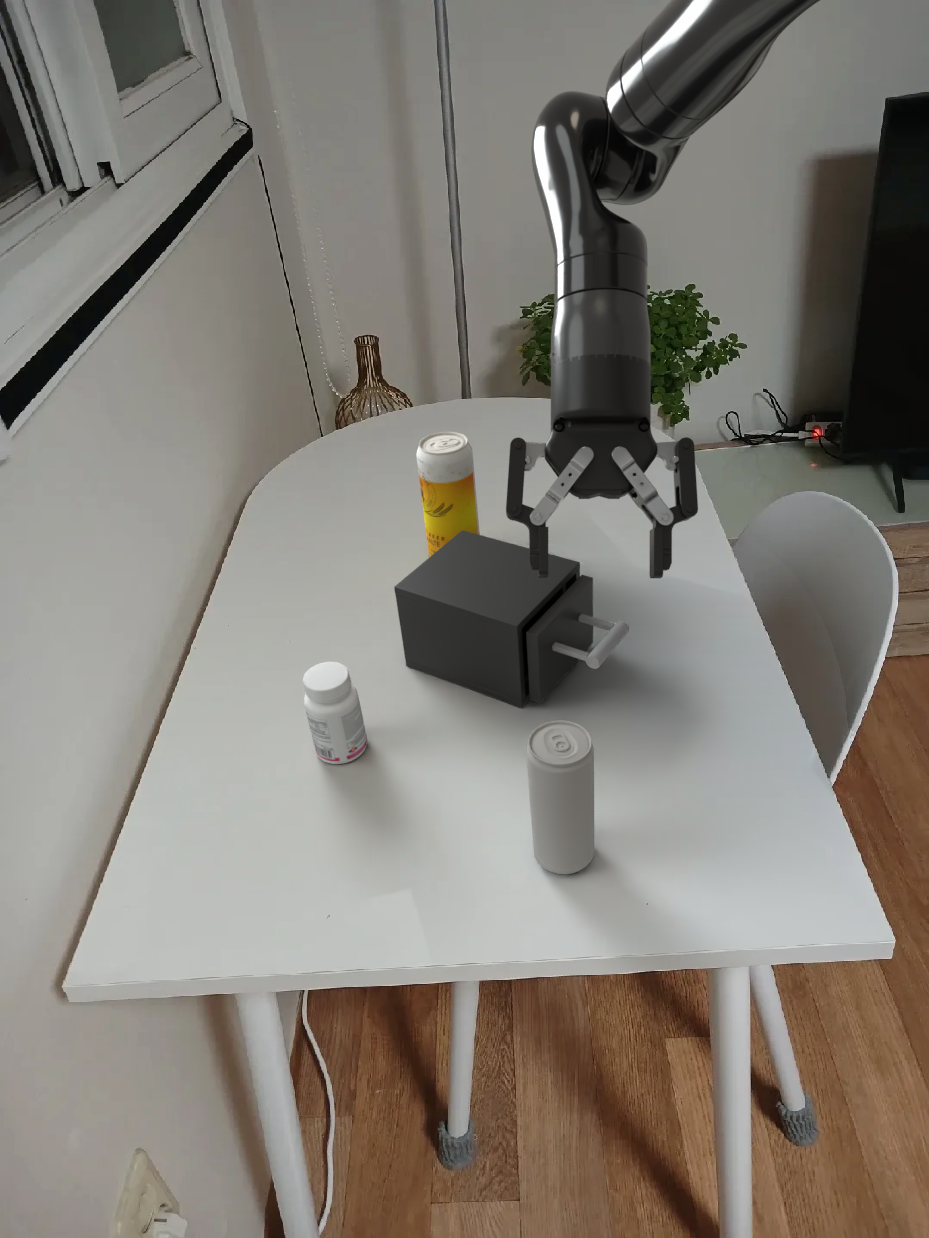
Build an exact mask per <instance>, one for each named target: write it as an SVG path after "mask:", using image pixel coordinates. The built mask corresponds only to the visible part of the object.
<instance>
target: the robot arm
mask: <svg viewBox="0 0 929 1238" xmlns="http://www.w3.org/2000/svg"><path fill="white" fill-rule="evenodd" d="M820 1H821V0H669V2H668V3H667V4H666V5H665V6H664V7H663V8H662V9H661V11H660V12H659V13H657V15H656V16H655V17H654V18H653V19H652V21H651V22H650V23H649V24H648V25H647V26H646V27H645V29H644V30H642V32H641V33H640V34H639V36H638V37H636V39H634V41H633V42H632V43H631V44H630V46H629V47H628V48H627V49H626V50H625V51H624V53H623V54H621V56H620V58H619V59H617V62H616V63H615V65H614V66H613V68H612V70H611V72H610V74H609V75H608V79H607V83H606V87H605V96H602V95H597V94H593V93H589V92H582V91H579V90H578V91H577V90H566V91H562V92H560V93H557V94H556V95H554V96H552V97H551V98H550V100H548V102H547V103H546V104H545V105H544V106H543V108H542V110H541V111H540V113H539V114H538V116H537V119H536V121H535V125H534V128H533V132H532V139H531V165H532V166H531V167H532V172H533V176H534V182H535V185H536V189H537V193H538V196H539V200H540V203H541V207H542V210H543V213H544V217H545V221H546V226H547V229H548V230H547V231H548V234H549V238H550V242H551V246H552V250H553V251H552V252H553V256H554V285H553V286H554V288H553V289H554V292H553V293H554V295H553V296H554V297H553V298H554V302H553V303H554V310H553V318H552V326H551V333H550V353H549V364H550V365H549V366H550V431H549V432H550V434H549V437H548V439H547V441H546V442H532V441H526V440H525V439H524V438H522V437H515V438H513V439H512V440H511V441H510V444H509V458H508V474H507V486H506V487H507V488H506V501H505V515H506V518H507V519H509V520H510V521H513V522H517V523H520V524H522V525H525V527H526V528H527V530H528V548H529V564H530V567H531V569H532V570H538V578H547V577H548V554H549V526H547V522H548V520H549V519H550V518H551V516H552V515H553V514H554V513H555V511H556V510H557V509H558V507H560V505H561V504H562V502H563V501H564V500H565V499H566V497H567V496H568V494H570V495H572V496H573V497H576V498H578V500H590V499H595V498H598V497H600V498H604V499H608V500H619V499H621V498H623V497H625V496H627V495H628V496H629V498H630V499H631V500H632V501H633V503H634V504H635V505H636V507H638V508H639V509H640V510H641V511H642V512H643V514H644V515H645V516H646V518H647V519H648V520H649V522H650V523H651V524H652V528H651V529H650V530H649V579H662V578H663V576H664V572H666V571H669V570H670V568H671V566H672V563H673V562H672V561H673V528H674V527H675V525H677V524H679V523H683V522H686V521H689V520H690V519H691V518H694V517H695V516H696V515H697V514H698V511H699V502H698V486H697V484H698V483H697V470H696V469H697V468H696V454H695V452H696V451H695V443H694V442H695V441H694V440H693V439H692V438H690V437H687V436H686V437H682V438H680V439H679V440H677V441H662V442H657V441H656V440H655V439H654V437H653V434H652V427H651V424H652V423H651V418H652V415H651V414H652V412H651V407H652V406H651V402H652V401H651V399H652V398H651V396H652V395H651V393H652V392H651V389H652V387H651V386H652V383H651V382H652V381H651V379H652V378H651V377H652V376H651V372H652V371H651V370H652V366H651V365H652V364H651V363H652V362H651V361H652V359H651V357H652V356H651V355H652V353H651V351H652V349H651V348H652V347H651V345H652V344H651V343H652V339H651V337H652V336H651V335H652V334H651V324H650V323H651V322H650V317H649V310H648V309H649V308H648V243H647V239H646V235H645V233H644V232H643V230H642V229H641V227H639V226H638V225H636V224H635V223H633V222H631V221H629V220H628V219H626V218H624V217H622V216H620V215H618V214H616V213H615V212H613V211H611V210H610V209H608V208H607V207H606V206H605V204H604V203H608V204H613V205H618V206H632V205H638V204H640V203H642V202H645V201H647V200H649V199H650V198H652V197H654V196H655V195H657V193H658V192H659V191H660V189H662V187H663V186H664V184H665V182H666V180H667V178H668V175H669V173H670V171H671V169H672V167H674V164H675V162H676V161H677V159H678V158H679V156H680V154H681V153H682V151H683V149H684V148H685V146H686V145H687V142H688V141H689V139H690V138H691V136H693V134H695V133H696V132H697V131H698V130H699V129H701V128H702V127H703V126H705V124H707V123H708V121H710V120H711V119H712V118H713V117H715V116H716V115H717V114H718V113H720V112H721V111H722V110H723V109H724V108H725V107H727V105H729V104H730V103H731V102H732V101H733V100H734V99H735V98H736V97H737V96H738V95H739V94H740V93H741V92H742V91H743V90H744V89H745V87H746V86H748V84H749V83H750V82H751V81H752V80H753V78H754V77H755V76H756V74H757V73H758V72H759V70H760V69H761V67H762V65H763V64H764V63H765V60H766V59H767V58H768V55H769V53H770V51H771V49H772V48H773V45H774V43H775V42H776V41H777V39H778V37H779V36H780V35H781V34H782V33H783V32H784V31H785V30H786V28H787V27H788V26H789V25H791V24H792V23H793V22H794V21H795V20H797V18H799V17H801V15H802V14H804V13H805V12H806V11H807V10H809V9H810V8H811V7H813V6H815V4H817V3H818V2H820ZM541 458H544V460H545V462H546V463H547V464H548V466H549V467H550V469H551V470H552V471H553V473H554V474H555V475H556V477H557V478H556V480H555V481H554V482H553V483H552V485H551V486H550V487H549V489H548V490H547V491H546V493H545V494H544V496H543V497H542V498H541V500H540V501H539V502H538V503H537V505H536V506H535V507H532V506H529V505H526V504H524V503H523V502H524V501H523V500H524V485H525V472H531V471H533V470H534V469H535V467H536V463H537V461H538V460H539V459H541ZM656 458H659V459H661V460H662V461H663V465H664V468H665V469H666V470H668V471H669V472H670V471H671V472H673V473H672V474H673V487H674V506H671V507H668V505H667V504H666V502H665V500H663V499H662V498H661V496H660V495H659V492H658V490H657V488H656V487H655V486H654V484H653V483H652V482H651V481H650V479H649V478H648V476H646V474H645V473H646V471H647V470H648V469H649V467H650V466H651V465H652V463H653V462H654V460H655V459H656Z"/></svg>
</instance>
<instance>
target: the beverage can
mask: <svg viewBox="0 0 929 1238" xmlns="http://www.w3.org/2000/svg"><path fill="white" fill-rule="evenodd" d="M526 764H527V765H526V766H527V781H528V798H529V811H530V823H531V832H532V833H531V835H532V836H531V837H532V850H533V857H534V859H535V860H536V862H537V864H538V865H540V866H541V867H542V868H543V869H544V870H547V871H549V872H551V873H553V874H558V875H570V874H575V873H577V872H580V871H582V870H583V869H585V868H586V867H587V866H589V864H590V863H591V862H592V860H593V858H594V855H595V747H594V744H593V739H592V736H591V734H590V732H588V730H587V729H586V728H585V727H583V725H580V724H578V723H576V722H574V721H569V720H558V719H557V720H551V721H547V722H544V723H542V724H540V725H538V726H537V727H536V728H534V729H533V730H532V731H531V733H530V734H529V736H528V739H527V745H526Z"/></svg>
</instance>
